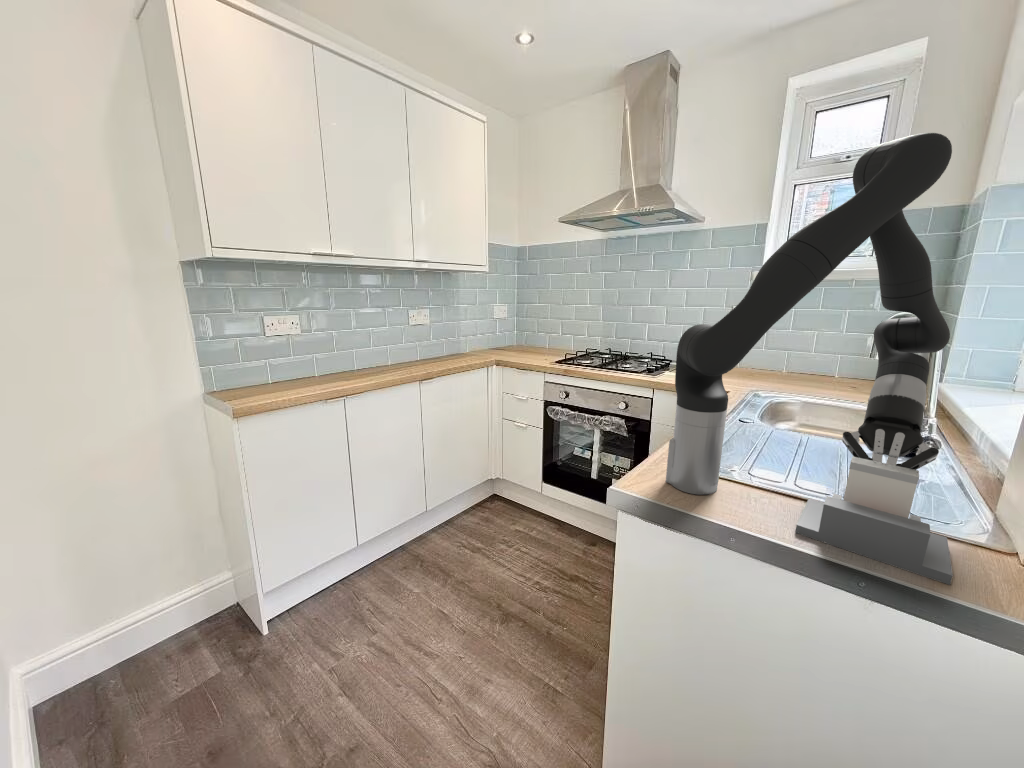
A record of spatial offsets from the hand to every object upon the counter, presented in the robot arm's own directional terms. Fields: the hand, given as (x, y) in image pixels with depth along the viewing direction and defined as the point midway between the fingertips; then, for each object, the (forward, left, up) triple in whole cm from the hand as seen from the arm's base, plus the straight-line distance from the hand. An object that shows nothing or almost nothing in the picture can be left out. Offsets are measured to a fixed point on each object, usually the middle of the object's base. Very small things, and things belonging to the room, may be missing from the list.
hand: (878, 490), depth 68 cm
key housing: (0, -5, -7) cm, 8 cm away
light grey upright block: (0, -2, -5) cm, 5 cm away
